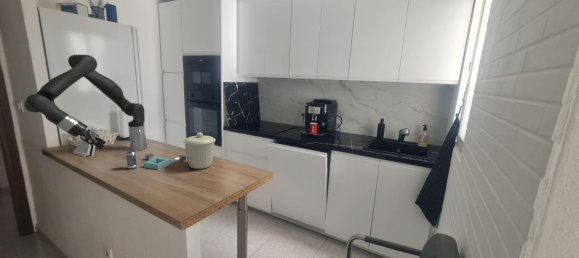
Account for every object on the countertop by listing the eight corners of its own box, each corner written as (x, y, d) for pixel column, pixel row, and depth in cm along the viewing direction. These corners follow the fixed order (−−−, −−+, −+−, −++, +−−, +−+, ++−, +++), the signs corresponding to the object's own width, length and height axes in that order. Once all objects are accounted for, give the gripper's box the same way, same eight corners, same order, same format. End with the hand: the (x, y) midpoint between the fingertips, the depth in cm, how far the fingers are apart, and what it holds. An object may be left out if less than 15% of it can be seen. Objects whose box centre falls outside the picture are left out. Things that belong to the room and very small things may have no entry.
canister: (206, 173, 135) (205, 137, 130) (177, 169, 138) (175, 134, 134) (221, 162, 152) (220, 130, 148) (195, 159, 156) (194, 128, 151)
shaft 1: (158, 162, 147) (157, 158, 147) (151, 164, 145) (150, 159, 144) (151, 157, 156) (151, 153, 155) (144, 159, 153) (144, 154, 152)
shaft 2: (167, 164, 145) (166, 160, 144) (164, 162, 148) (164, 158, 147) (187, 160, 154) (186, 155, 153) (184, 158, 156) (184, 154, 156)
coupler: (132, 166, 140) (130, 150, 138) (139, 167, 139) (137, 151, 137) (125, 169, 136) (123, 152, 134) (132, 170, 135) (130, 153, 133)
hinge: (72, 152, 159) (76, 138, 159) (81, 153, 163) (85, 139, 164) (84, 157, 151) (88, 142, 152) (93, 158, 155) (97, 143, 156)
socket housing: (156, 161, 149) (156, 157, 148) (170, 163, 147) (170, 159, 146) (143, 167, 139) (143, 162, 139) (158, 169, 137) (157, 164, 136)
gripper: (75, 123, 115) (107, 143, 123) (81, 118, 127) (110, 137, 135) (62, 134, 113) (95, 154, 121) (69, 128, 125) (99, 147, 133)
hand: (103, 145), depth 128 cm, fingers open, 8 cm apart
